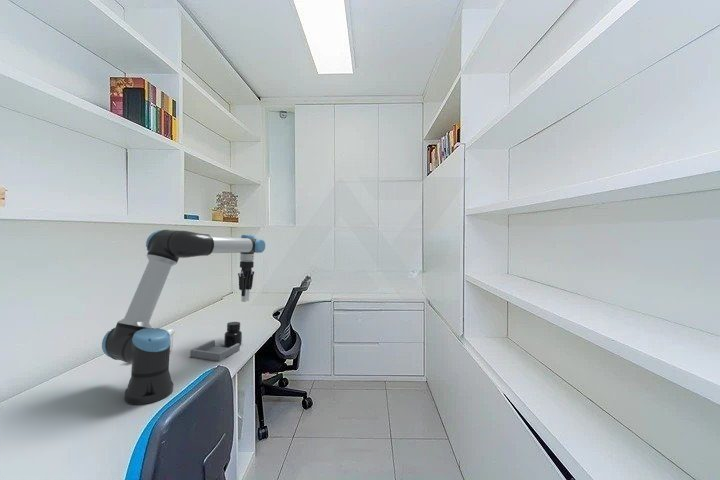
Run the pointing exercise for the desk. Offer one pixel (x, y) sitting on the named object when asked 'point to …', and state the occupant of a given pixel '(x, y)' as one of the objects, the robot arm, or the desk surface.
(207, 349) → the tray
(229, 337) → the ink bottle
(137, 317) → the robot arm
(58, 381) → the desk surface
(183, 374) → the desk surface
